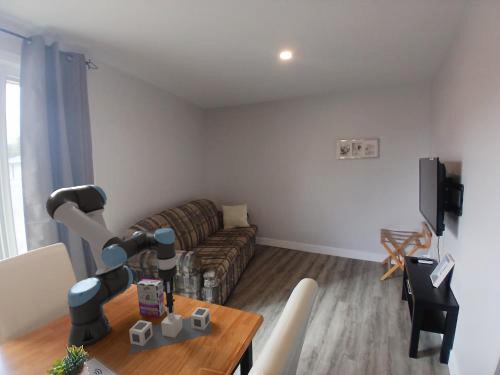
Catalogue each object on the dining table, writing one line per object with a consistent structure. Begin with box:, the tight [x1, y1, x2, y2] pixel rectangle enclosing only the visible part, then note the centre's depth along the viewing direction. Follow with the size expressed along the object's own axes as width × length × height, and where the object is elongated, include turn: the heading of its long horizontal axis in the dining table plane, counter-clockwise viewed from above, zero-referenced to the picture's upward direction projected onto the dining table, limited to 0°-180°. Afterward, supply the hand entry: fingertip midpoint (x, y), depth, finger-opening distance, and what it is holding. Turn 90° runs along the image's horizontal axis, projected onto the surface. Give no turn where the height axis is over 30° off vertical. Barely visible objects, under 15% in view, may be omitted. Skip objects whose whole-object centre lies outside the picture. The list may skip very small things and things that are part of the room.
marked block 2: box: [190, 306, 211, 330], centre depth 109 cm, size 6×6×6 cm
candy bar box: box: [136, 278, 166, 318], centre depth 118 cm, size 11×5×16 cm, turn 76°
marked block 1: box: [129, 319, 153, 346], centre depth 102 cm, size 6×6×6 cm
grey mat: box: [129, 316, 213, 355], centre depth 106 cm, size 32×14×1 cm, turn 108°
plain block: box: [160, 313, 183, 338], centre depth 106 cm, size 6×6×6 cm
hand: (171, 317), depth 105 cm, fingers closed
